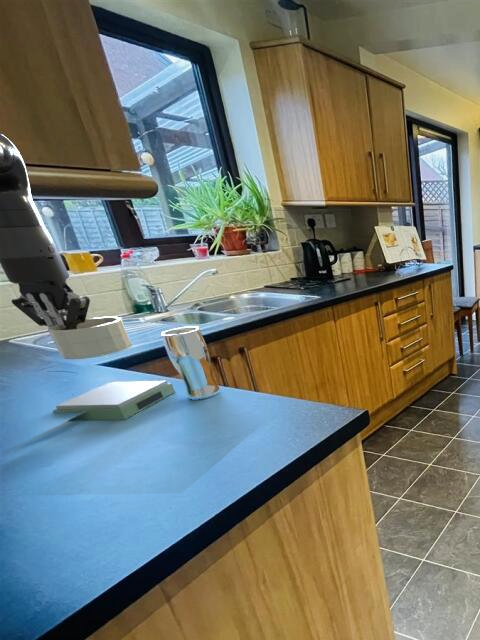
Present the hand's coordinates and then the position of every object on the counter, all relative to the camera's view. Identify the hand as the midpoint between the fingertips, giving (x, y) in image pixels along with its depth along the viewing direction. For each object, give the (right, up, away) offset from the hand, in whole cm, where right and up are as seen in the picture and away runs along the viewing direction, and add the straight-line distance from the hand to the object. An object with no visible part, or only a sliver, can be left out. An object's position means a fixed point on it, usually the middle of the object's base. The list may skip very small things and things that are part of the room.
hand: (73, 345), depth 78 cm
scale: (+1, -12, +8) cm, 15 cm away
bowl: (+5, -1, 0) cm, 5 cm away
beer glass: (+16, -10, +13) cm, 23 cm away
